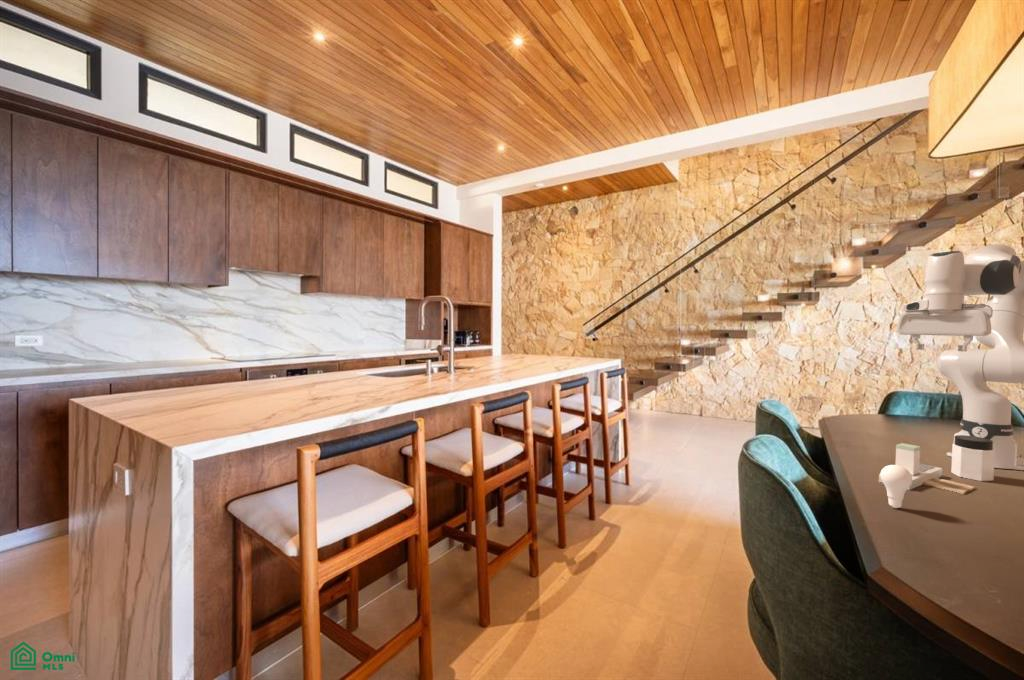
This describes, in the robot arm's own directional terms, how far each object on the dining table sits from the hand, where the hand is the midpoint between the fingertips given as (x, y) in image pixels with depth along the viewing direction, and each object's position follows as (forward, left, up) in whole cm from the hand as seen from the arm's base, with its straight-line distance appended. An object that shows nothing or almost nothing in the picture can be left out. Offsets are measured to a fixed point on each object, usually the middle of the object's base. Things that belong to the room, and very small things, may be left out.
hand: (940, 350), depth 130 cm
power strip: (+5, -3, -39) cm, 40 cm away
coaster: (+5, +4, -39) cm, 40 cm away
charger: (+10, -3, -37) cm, 38 cm away
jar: (-13, +5, -40) cm, 42 cm away
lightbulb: (+38, +4, -39) cm, 55 cm away
